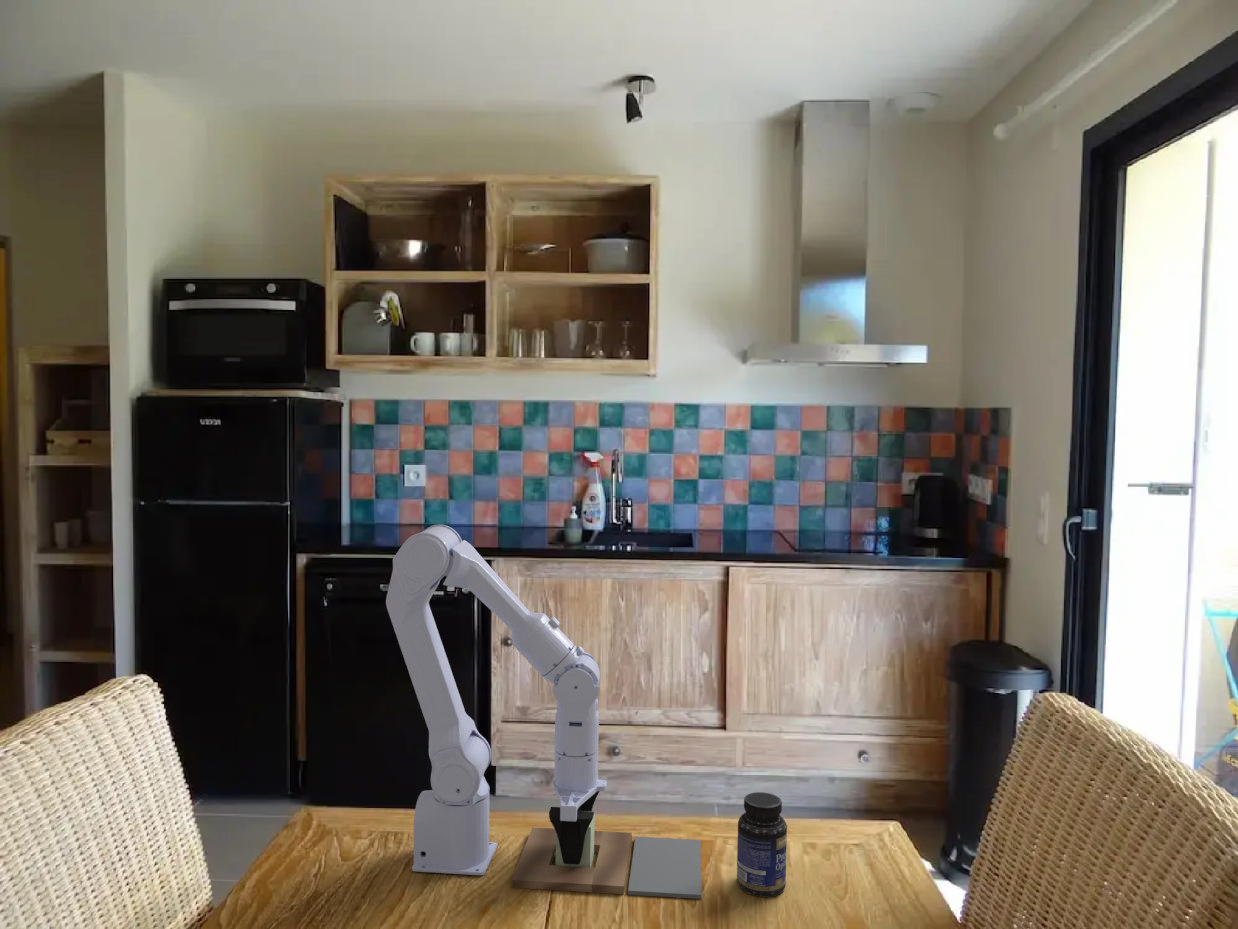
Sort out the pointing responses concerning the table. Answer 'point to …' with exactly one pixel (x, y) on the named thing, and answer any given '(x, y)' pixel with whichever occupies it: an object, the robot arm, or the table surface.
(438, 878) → the table surface
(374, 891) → the table surface
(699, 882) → the mat
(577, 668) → the robot arm
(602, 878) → the pocket board
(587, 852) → the sage block
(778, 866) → the pill bottle
